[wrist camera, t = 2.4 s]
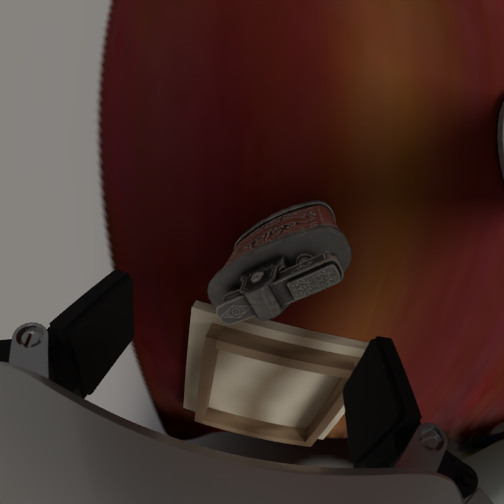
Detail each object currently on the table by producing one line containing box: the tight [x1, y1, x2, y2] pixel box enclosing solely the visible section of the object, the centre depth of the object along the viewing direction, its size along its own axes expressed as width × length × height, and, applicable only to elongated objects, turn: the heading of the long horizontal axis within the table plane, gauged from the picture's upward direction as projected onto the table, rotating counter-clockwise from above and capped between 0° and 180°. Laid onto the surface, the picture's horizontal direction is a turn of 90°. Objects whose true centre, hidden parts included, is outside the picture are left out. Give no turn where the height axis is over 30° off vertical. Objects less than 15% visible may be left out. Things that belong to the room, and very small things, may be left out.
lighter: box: [207, 200, 351, 325], centre depth 16 cm, size 8×3×10 cm, turn 119°
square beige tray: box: [184, 300, 369, 447], centre depth 25 cm, size 18×16×3 cm
